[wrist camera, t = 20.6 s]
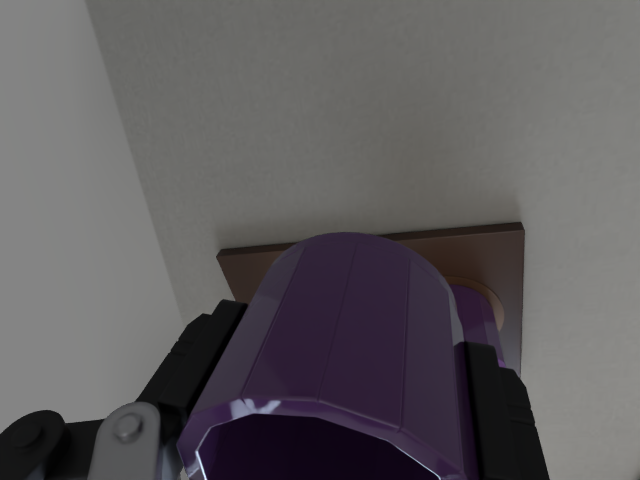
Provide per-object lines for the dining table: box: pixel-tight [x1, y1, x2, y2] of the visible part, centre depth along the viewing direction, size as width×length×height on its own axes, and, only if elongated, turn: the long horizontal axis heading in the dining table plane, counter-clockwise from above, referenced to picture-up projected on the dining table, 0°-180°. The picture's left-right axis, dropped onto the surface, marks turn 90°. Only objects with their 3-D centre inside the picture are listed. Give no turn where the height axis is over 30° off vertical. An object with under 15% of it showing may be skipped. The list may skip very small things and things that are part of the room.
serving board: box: [216, 222, 525, 378], centre depth 31 cm, size 22×14×1 cm, turn 104°
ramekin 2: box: [448, 284, 507, 368], centre depth 27 cm, size 6×6×5 cm
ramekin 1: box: [176, 232, 480, 480], centre depth 10 cm, size 6×6×5 cm
